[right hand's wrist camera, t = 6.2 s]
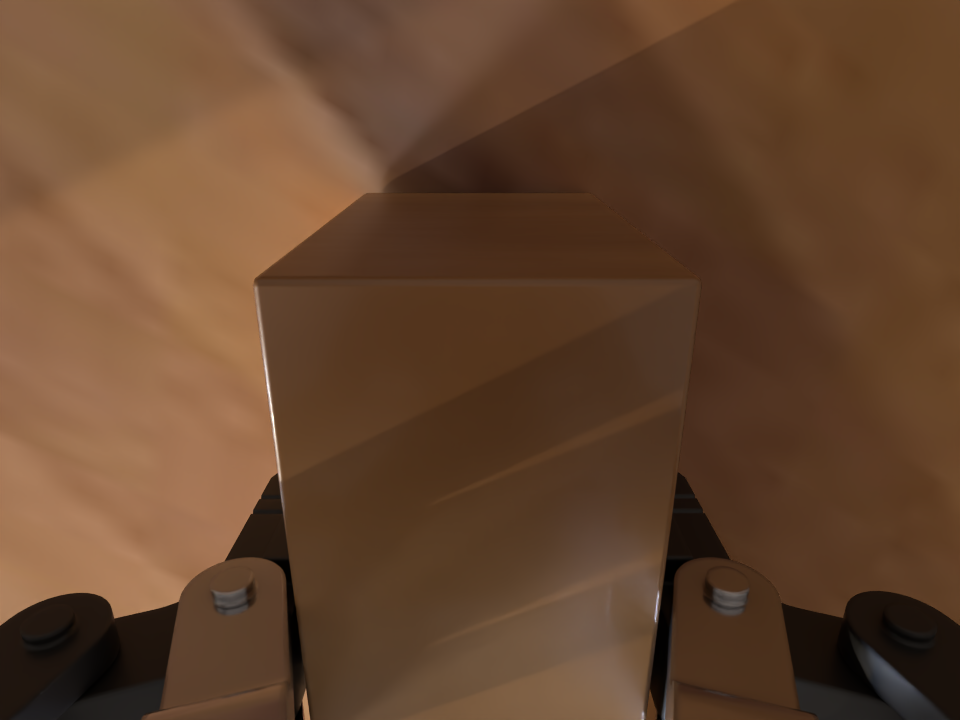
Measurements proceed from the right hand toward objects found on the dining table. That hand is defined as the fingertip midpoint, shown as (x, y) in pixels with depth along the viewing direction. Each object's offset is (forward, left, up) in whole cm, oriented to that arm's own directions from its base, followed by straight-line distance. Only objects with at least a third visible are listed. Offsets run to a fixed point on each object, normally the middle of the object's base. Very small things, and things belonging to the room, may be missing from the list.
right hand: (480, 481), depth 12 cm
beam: (+10, -18, -2) cm, 20 cm away
